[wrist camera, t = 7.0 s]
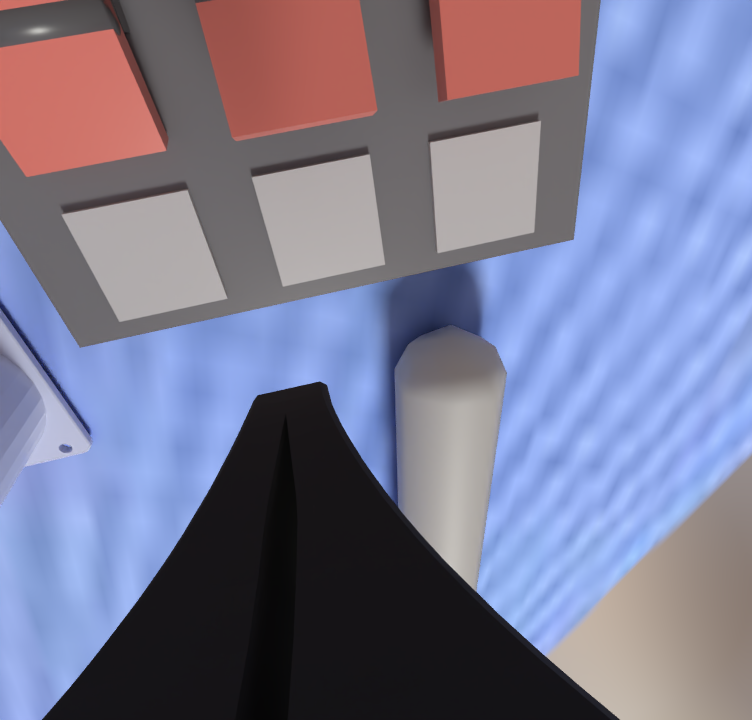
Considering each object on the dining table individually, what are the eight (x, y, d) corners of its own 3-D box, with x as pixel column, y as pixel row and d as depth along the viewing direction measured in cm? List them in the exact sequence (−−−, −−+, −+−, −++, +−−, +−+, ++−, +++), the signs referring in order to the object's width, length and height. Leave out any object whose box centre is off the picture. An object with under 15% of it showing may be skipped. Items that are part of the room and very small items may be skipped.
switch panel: (101, 313, 18) (73, 357, 15) (-147, -128, 11) (-276, -185, 8) (541, 219, 19) (583, 245, 16) (571, -223, 12) (651, -297, 10)
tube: (380, 371, 17) (394, 671, 31) (527, 376, 16) (474, 681, 30) (394, 306, 22) (401, 594, 35) (510, 308, 21) (471, 602, 35)
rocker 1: (35, 161, 12) (24, 180, 12) (-192, -179, 8) (-232, -181, 7) (168, 136, 13) (166, 154, 12) (24, -205, 8) (5, -210, 7)
